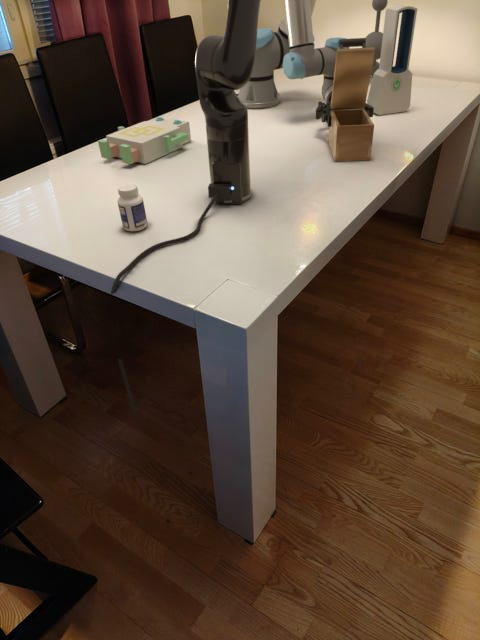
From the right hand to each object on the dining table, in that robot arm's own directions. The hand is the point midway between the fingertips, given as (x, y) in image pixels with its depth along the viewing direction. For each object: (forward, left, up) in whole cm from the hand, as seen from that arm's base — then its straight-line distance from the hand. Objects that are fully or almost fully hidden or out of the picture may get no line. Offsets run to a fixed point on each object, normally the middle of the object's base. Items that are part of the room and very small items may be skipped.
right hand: (348, 121), depth 136 cm
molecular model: (-58, +47, -7) cm, 75 cm away
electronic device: (-22, +31, -7) cm, 38 cm away
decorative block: (-26, -52, -7) cm, 58 cm away
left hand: (+2, -1, +30) cm, 30 cm away
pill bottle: (+21, -67, -7) cm, 70 cm away
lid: (0, 0, +10) cm, 10 cm away
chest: (+4, -2, -7) cm, 8 cm away
